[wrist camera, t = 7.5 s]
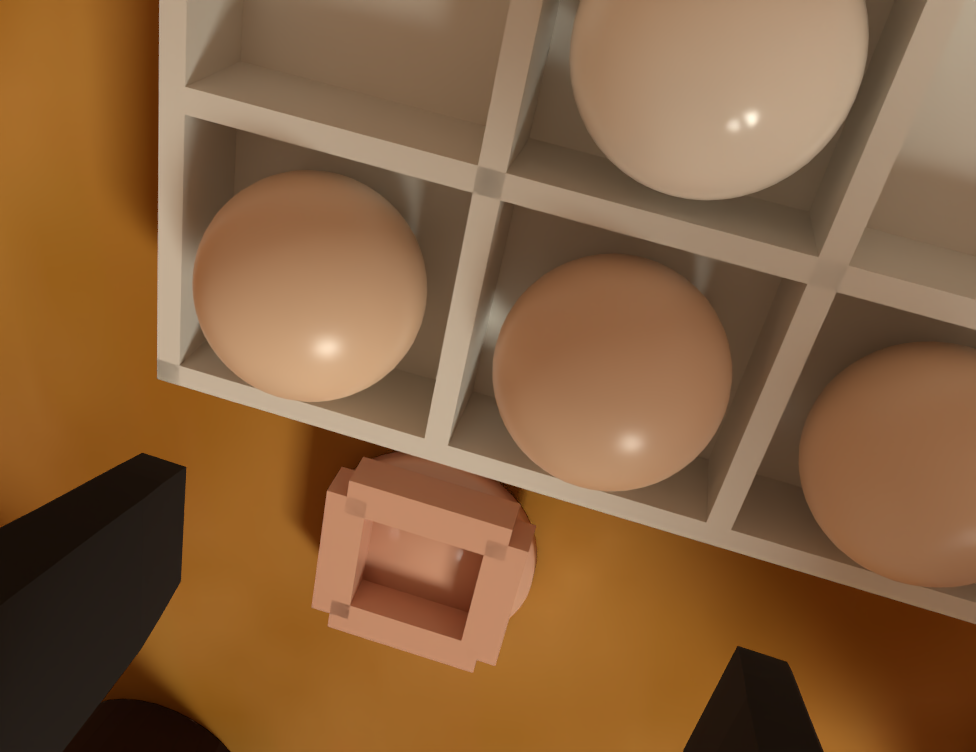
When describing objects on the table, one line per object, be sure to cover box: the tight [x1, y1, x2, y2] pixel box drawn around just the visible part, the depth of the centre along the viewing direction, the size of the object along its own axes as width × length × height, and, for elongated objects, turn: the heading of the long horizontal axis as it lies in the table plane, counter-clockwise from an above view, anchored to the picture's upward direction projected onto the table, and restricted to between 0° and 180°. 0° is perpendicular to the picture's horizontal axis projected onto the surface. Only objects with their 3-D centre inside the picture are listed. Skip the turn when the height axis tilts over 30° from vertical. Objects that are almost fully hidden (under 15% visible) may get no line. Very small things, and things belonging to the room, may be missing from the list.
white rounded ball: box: [569, 0, 869, 200], centre depth 14 cm, size 4×4×4 cm
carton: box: [157, 0, 976, 624], centre depth 16 cm, size 18×12×5 cm
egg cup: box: [312, 452, 537, 673], centre depth 24 cm, size 6×6×2 cm
